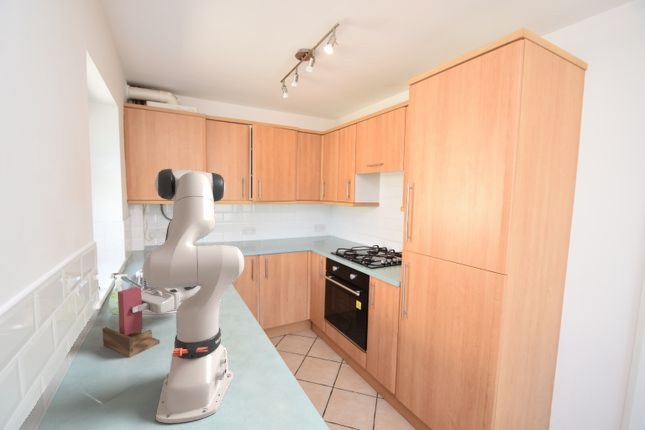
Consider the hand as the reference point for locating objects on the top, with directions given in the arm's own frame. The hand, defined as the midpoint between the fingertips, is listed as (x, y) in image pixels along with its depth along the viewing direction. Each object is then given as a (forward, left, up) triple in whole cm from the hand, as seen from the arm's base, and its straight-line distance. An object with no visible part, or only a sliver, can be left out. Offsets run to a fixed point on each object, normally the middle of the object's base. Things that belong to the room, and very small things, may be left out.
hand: (127, 308), depth 99 cm
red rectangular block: (+1, -1, -8) cm, 9 cm away
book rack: (+1, -1, -13) cm, 13 cm away
